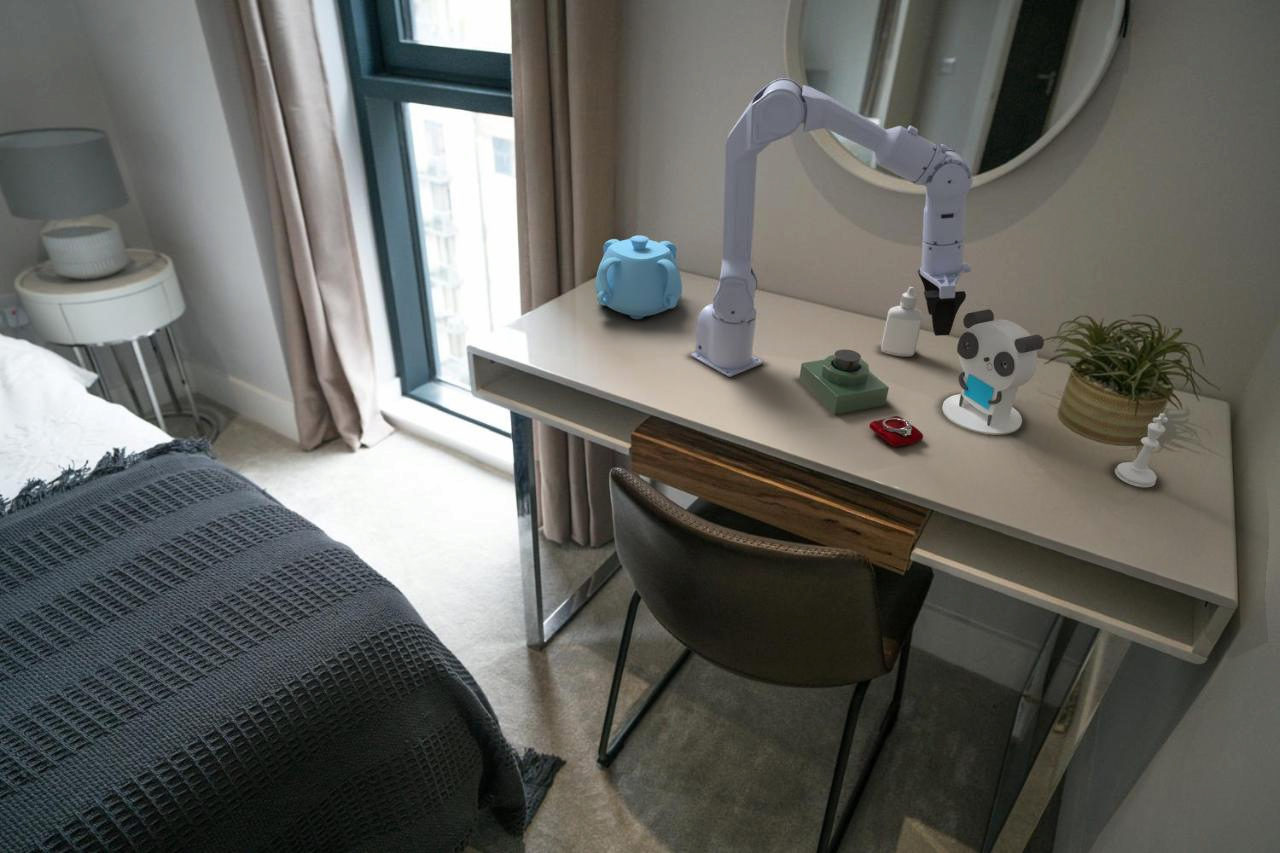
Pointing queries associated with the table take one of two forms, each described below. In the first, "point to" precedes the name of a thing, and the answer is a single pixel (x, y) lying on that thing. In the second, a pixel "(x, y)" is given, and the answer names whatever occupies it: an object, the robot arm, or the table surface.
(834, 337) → the table surface
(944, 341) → the table surface
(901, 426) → the engagement ring
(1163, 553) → the table surface
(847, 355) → the black push button
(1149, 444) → the chess piece
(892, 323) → the eye dropper bottle
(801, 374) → the green button base
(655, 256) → the decorative pot
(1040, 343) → the panda figurine
